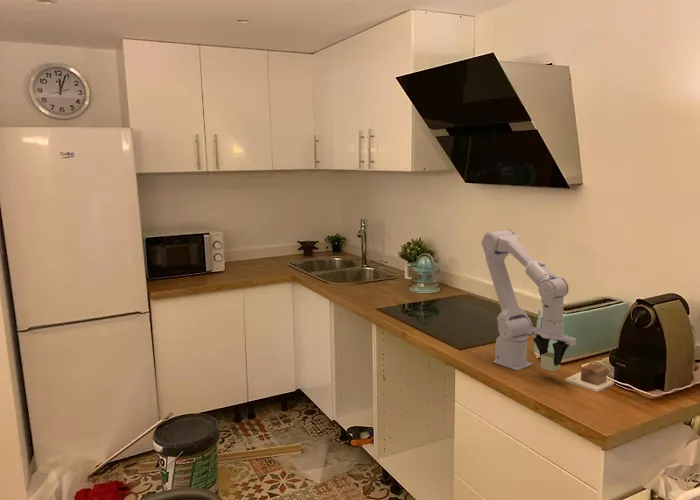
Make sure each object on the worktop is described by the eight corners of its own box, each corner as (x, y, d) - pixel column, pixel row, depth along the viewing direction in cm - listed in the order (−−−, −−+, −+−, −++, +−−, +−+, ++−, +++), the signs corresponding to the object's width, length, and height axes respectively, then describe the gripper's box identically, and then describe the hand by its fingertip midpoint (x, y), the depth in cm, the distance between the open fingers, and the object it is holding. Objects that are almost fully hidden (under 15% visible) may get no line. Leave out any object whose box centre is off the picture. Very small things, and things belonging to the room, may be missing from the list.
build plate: (564, 381, 157) (564, 378, 157) (583, 372, 163) (583, 369, 163) (597, 392, 149) (597, 388, 149) (615, 383, 155) (615, 379, 154)
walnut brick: (580, 380, 155) (581, 367, 155) (590, 375, 158) (590, 363, 158) (596, 385, 151) (597, 372, 151) (606, 381, 154) (607, 368, 154)
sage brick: (540, 367, 159) (540, 354, 158) (548, 364, 161) (548, 351, 160) (552, 371, 155) (552, 358, 155) (560, 368, 158) (560, 355, 157)
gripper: (523, 315, 159) (521, 358, 162) (566, 327, 148) (564, 373, 150) (537, 311, 163) (535, 353, 166) (581, 322, 152) (578, 367, 154)
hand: (550, 362), depth 158 cm, fingers closed on sage brick, 4 cm apart
